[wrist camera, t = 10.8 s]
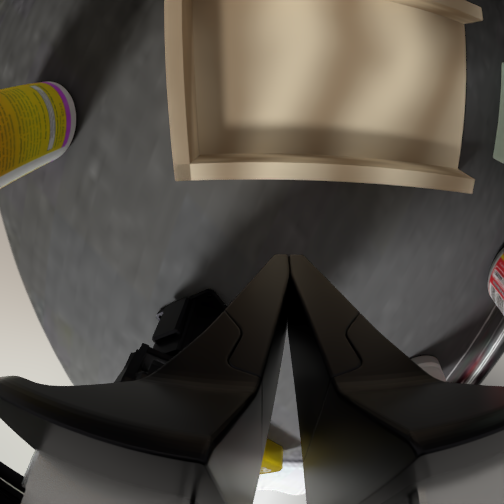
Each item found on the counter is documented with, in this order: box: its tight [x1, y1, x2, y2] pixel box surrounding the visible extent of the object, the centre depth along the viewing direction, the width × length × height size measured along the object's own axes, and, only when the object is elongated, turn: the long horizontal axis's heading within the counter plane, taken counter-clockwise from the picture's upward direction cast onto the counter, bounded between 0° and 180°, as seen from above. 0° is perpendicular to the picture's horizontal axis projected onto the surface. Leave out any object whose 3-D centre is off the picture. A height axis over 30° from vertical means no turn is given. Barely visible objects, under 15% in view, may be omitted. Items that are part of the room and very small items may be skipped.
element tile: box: [260, 439, 283, 474], centre depth 39 cm, size 15×15×5 cm
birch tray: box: [164, 0, 483, 194], centre depth 15 cm, size 19×13×3 cm
